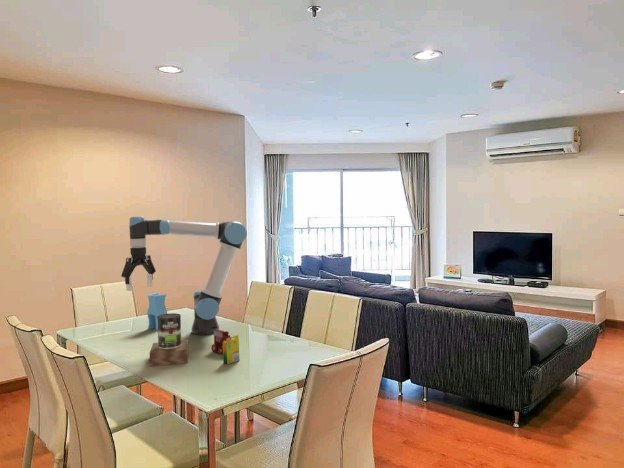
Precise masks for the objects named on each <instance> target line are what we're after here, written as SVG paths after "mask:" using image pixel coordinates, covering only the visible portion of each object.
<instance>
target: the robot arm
mask: <svg viewBox="0 0 624 468" xmlns="http://www.w3.org/2000/svg"><path fill="white" fill-rule="evenodd" d="M128 224H129V247H130V248H129V249H130V252H129V253H130V256H131V257H126V259H125V263H124V267H123V270H122V273H121V277H122V278H124V282H125V283H124V284H125V285H126V286H125V287H126V291H127V292H129V291H130V292H131V291H132V277H131V276H132V274H133V272H134V271H135V268H137V266H142V267H143V268H144V269H145V271H146V272H147V274H146V283H147V284H146V285H147V287H153V279H154V277H153V275H154V274H155V273H156V268H155V266H154V263H153V262H152V257H151V255H150V254H147V247H146V246H147V241H146V240H147V239H146V237H147V236H151V235H152V236H155V235H156V236H159V235H162V236H163V235H175V236H176V235H177V236H190V237H205V238H206V237H207V238H215V239H216V240H219V244H220V247H219V251H218V253H217V256H216V259H215V261H214V264H213V266H212V270H211V272H210V275H209V277H208V280H207V282H206V286H205V287H204V288H203V289H201V290H196V291H195V292H193V308H194V309H193V310H194V314H193V315H194V316H193V318H194V319H193V322H192V326H191V334H193V335H210V334H211V335H212V334H214V330H215V329H218V330H220V326H219V323H218V320H217V316H218V313H219V311H220V304H221V301H222V300H223V296H222V290H223V288H224V285H225V283H226V280H227V277H228V275H229V272H230V269H231V266H232V264H233V261H234V258H235V255H236V252H238V251H239V250H241V248H242V244H243V243H244V242H245V240H246V238H247V235H248V232H247V228H246V226H245V225H244V224H243V223H241V222H240V221H236V220H233V221H232V220H231V221H221V222H220V221H217V222H215V223H213V222H211V223H210V222H198V221H197V222H196V221H195V222H193V221H184V220H183V221H181V220H170V219H155V220H154V219H153V220H150V219H149V220H148V219H146V217H145V216H131V217H129V223H128Z"/></svg>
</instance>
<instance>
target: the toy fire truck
mask: <svg viewBox="0 0 624 468" xmlns="http://www.w3.org/2000/svg"><path fill="white" fill-rule="evenodd" d="M229 334H230V333H229V331H224V330H221V329H219V330H218V329H215V330H214V333H213V337H214V338H213V339H214V340H213V344H211V347H210V348H211V352H212V353H214V354H216V353H218V354H219V355H221V356H223V342H224V341H226V339H227V338H230V337H231V335H229ZM230 340H231V339H230Z"/></svg>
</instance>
